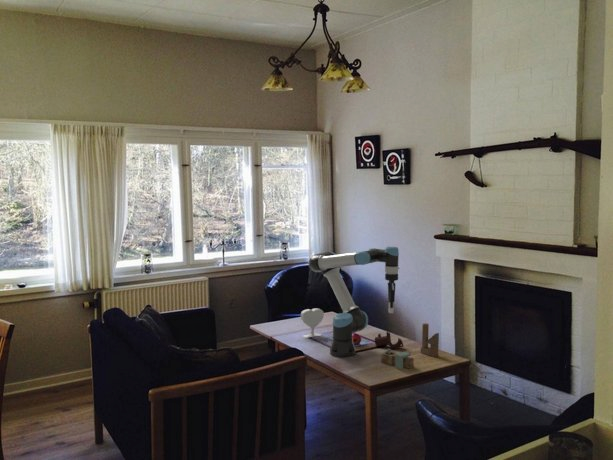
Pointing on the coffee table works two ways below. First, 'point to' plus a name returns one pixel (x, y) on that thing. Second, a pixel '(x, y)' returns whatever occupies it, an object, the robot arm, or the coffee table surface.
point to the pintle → (389, 351)
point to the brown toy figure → (387, 341)
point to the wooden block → (429, 342)
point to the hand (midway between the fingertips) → (391, 312)
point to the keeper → (400, 359)
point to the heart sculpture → (312, 319)
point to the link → (390, 359)
